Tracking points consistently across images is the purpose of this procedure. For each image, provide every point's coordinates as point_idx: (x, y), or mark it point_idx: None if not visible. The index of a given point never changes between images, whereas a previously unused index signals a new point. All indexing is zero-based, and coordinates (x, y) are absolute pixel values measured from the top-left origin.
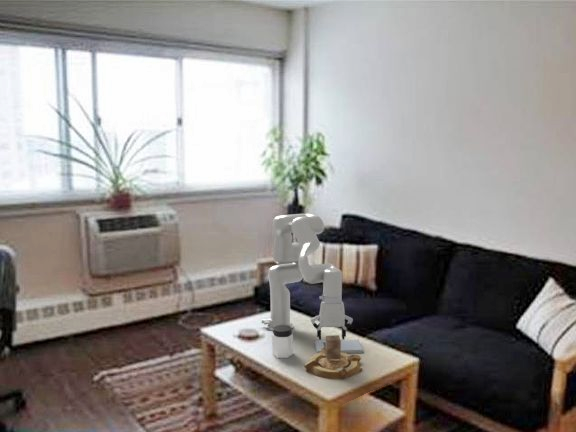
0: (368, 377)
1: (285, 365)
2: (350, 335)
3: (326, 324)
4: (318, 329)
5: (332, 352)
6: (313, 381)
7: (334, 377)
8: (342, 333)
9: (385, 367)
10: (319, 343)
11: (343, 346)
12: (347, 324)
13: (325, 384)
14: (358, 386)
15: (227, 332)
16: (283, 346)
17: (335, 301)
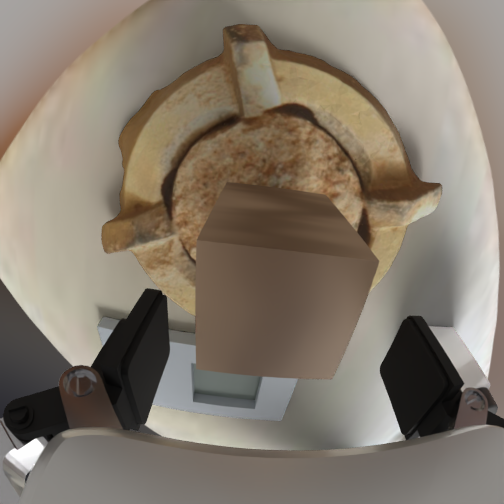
0: (113, 57)
1: (462, 264)
2: (150, 424)
3: (466, 471)
4: (473, 398)
5: (292, 204)
6: (413, 65)
7: (302, 55)
8: (147, 351)
9: (31, 168)
10: (272, 404)
11: (176, 371)
12: (35, 431)
13: (362, 16)
14: None
15: None
16: (458, 358)
17: None
